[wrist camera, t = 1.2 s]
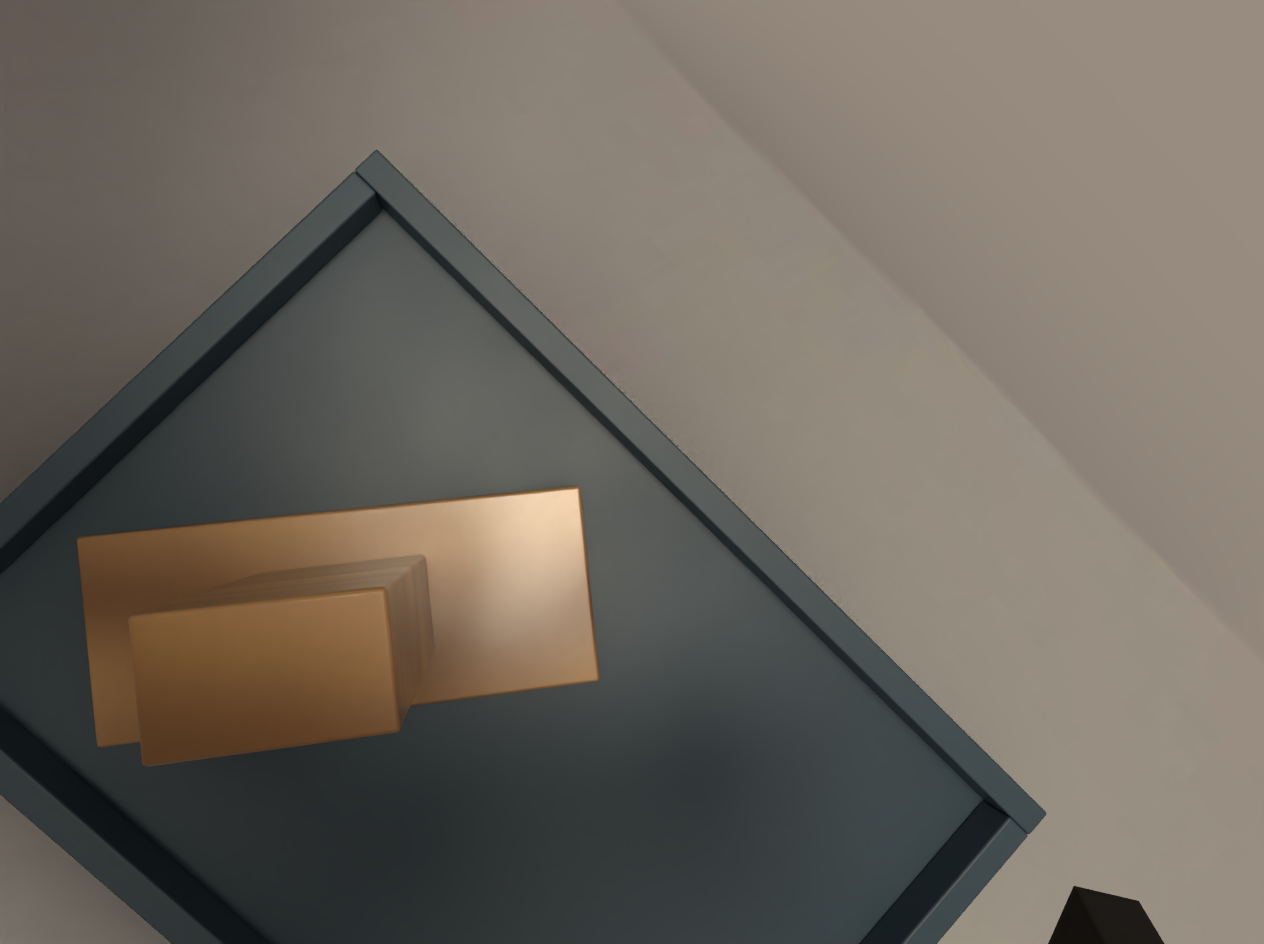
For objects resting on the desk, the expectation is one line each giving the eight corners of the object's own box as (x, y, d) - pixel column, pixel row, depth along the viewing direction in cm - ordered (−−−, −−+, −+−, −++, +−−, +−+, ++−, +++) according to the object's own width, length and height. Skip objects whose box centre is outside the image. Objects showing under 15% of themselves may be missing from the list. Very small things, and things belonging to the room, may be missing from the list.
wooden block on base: (114, 533, 24) (-165, 562, 14) (573, 486, 26) (620, 482, 16) (133, 724, 24) (-133, 893, 14) (591, 664, 26) (650, 777, 16)
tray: (387, 178, 26) (376, 148, 24) (1003, 788, 28) (1048, 813, 26) (-100, 639, 24) (-163, 654, 22) (603, 1257, 26) (613, 1328, 24)
